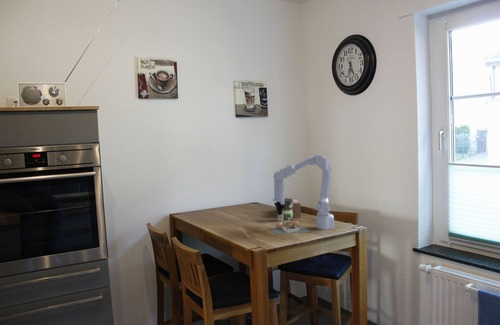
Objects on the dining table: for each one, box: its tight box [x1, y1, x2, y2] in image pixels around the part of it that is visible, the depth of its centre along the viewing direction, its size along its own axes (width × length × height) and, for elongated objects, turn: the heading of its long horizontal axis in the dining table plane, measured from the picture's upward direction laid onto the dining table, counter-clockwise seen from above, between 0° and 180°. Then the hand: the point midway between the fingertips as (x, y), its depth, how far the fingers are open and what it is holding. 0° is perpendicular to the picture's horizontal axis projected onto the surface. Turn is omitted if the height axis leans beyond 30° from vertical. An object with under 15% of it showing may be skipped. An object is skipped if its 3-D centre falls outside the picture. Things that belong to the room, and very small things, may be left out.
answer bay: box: [282, 226, 300, 233], centre depth 224 cm, size 8×8×2 cm
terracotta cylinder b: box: [275, 221, 283, 230], centre depth 229 cm, size 4×4×4 cm
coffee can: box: [276, 199, 294, 222], centre depth 254 cm, size 10×10×14 cm
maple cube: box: [282, 221, 292, 229], centre depth 230 cm, size 4×4×4 cm
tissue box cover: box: [284, 197, 302, 219], centre depth 276 cm, size 26×14×10 cm, turn 179°
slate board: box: [269, 225, 312, 235], centre depth 226 cm, size 20×16×1 cm
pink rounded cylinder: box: [291, 220, 300, 228], centre depth 231 cm, size 4×4×4 cm
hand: (279, 214), depth 228 cm, fingers closed
